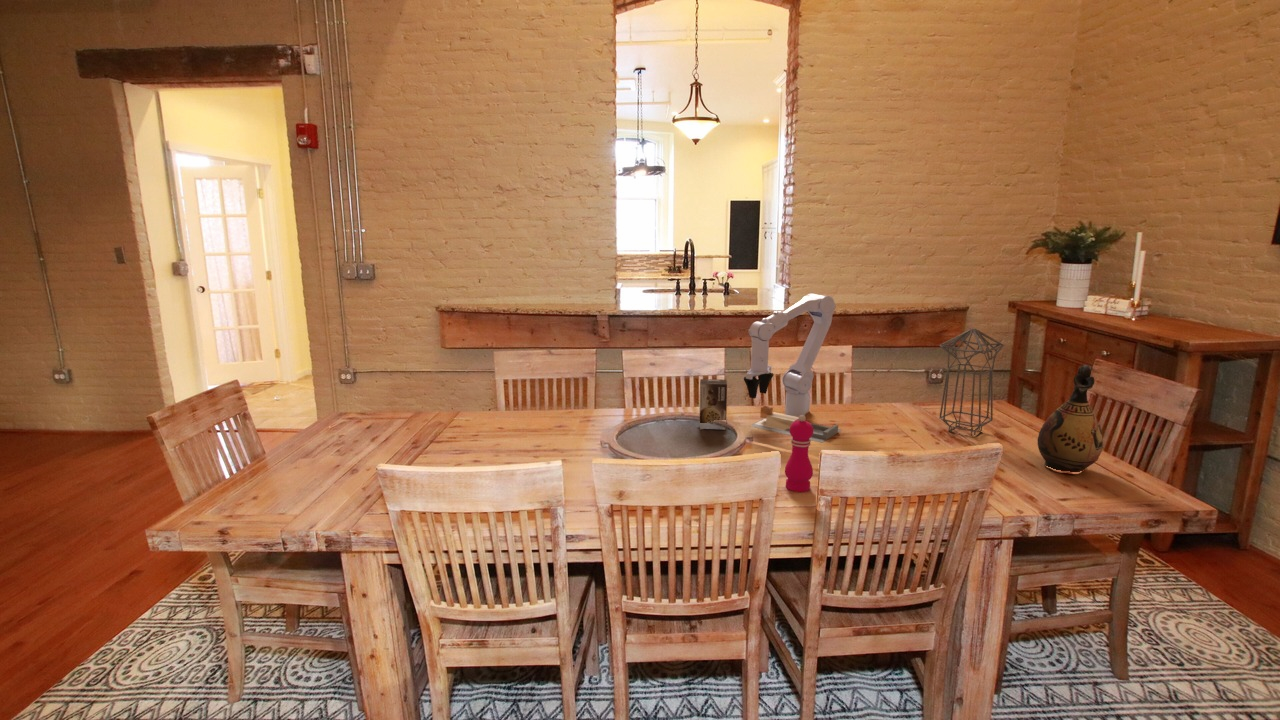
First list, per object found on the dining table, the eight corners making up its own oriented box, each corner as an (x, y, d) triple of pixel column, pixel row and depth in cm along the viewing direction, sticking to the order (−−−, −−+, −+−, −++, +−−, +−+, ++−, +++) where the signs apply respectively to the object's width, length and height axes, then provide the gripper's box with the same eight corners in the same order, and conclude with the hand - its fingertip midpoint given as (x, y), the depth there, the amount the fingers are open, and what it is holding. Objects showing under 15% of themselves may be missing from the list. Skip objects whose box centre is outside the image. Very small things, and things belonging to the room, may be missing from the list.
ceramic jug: (1099, 484, 176) (1118, 376, 169) (1033, 472, 184) (1048, 368, 177) (1096, 464, 190) (1113, 364, 184) (1034, 453, 198) (1049, 357, 191)
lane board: (770, 416, 232) (771, 408, 232) (841, 432, 217) (842, 422, 216) (748, 428, 220) (749, 419, 219) (822, 445, 204) (823, 435, 204)
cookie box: (725, 424, 223) (727, 379, 220) (726, 430, 217) (728, 384, 214) (698, 423, 224) (700, 378, 221) (698, 429, 218) (700, 383, 214)
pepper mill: (780, 482, 176) (784, 411, 172) (806, 481, 177) (811, 410, 172) (788, 493, 169) (793, 419, 165) (815, 492, 170) (820, 419, 165)
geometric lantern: (979, 443, 207) (989, 334, 200) (930, 432, 219) (938, 329, 211) (998, 432, 217) (1009, 328, 210) (951, 421, 229) (959, 323, 221)
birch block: (765, 418, 228) (766, 405, 226) (799, 426, 220) (800, 411, 219) (758, 422, 224) (759, 408, 223) (793, 429, 216) (794, 415, 215)
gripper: (760, 362, 214) (758, 402, 217) (779, 355, 226) (777, 392, 229) (741, 359, 219) (739, 398, 222) (761, 352, 230) (759, 389, 233)
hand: (757, 395), depth 225 cm, fingers open, 7 cm apart
